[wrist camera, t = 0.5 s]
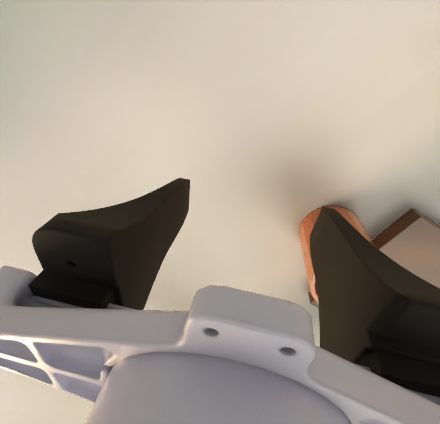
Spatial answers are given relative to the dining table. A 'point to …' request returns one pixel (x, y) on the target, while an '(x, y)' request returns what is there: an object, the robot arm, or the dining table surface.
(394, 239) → the serving board
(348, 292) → the robot arm
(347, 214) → the tumbler
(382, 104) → the dining table surface
